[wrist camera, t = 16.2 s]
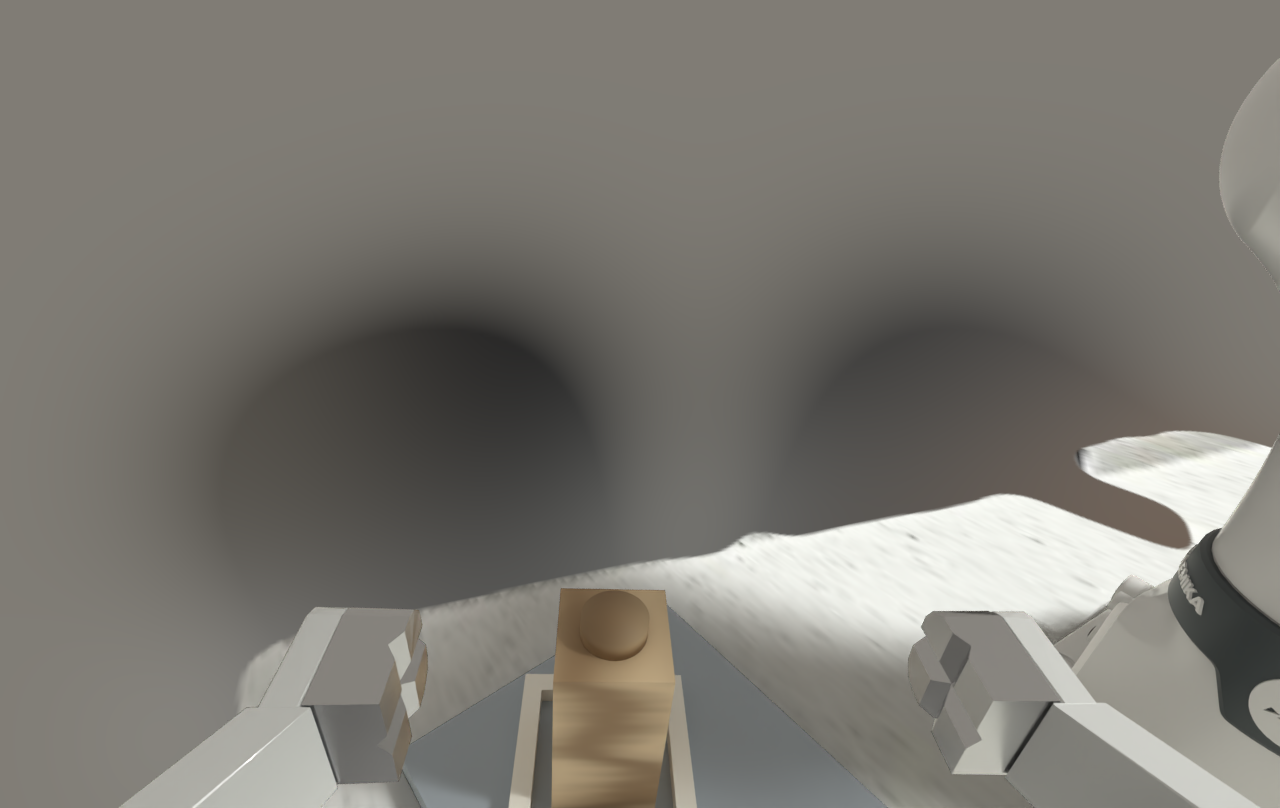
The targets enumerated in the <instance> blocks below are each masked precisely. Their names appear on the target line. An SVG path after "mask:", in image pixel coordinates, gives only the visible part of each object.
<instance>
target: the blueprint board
mask: <svg viewBox="0 0 1280 808" xmlns="http://www.w3.org/2000/svg"><path fill="white" fill-rule="evenodd" d="M667 612H668V621H669V630H670V639H671V647H672V656H673V665H674V674H675V675H681V681H682V689H683V697H684V705H685V713H686V722H687V730H688V738H689V746H690V755H691V763H692V771H693V779H694V787H695V796H696V804H697V808H888V807H887V806H885V805H884V804H883V803H882V802H881V801H880V800H879V799H878V798H877V797H876V796H875V795H873V794H872V793H871V792H870V791H869V790H868V789H867V788H866V787H865V786H864V785H863V784H861V783H860V782H859V781H858V780H857V779H856V778H855V777H854V776H853V775H852V774H851V773H850V772H848V771H847V770H846V769H845V768H844V767H843V766H842V765H841V764H840V763H839V762H838V761H836V760H835V759H834V758H833V757H832V756H831V755H830V754H829V753H828V752H827V751H826V750H825V749H823V748H822V747H821V746H820V745H819V744H818V743H817V742H816V741H815V740H814V739H813V738H811V737H810V736H809V735H808V734H807V733H806V732H805V731H804V730H803V729H802V728H801V727H799V726H798V725H797V724H796V723H795V722H794V721H793V720H792V719H791V718H790V717H789V716H788V715H786V714H785V713H784V712H783V711H782V710H781V709H780V708H779V707H778V706H777V705H776V704H774V703H773V702H772V701H771V700H770V699H769V698H768V697H767V696H766V695H765V694H764V693H763V692H761V691H760V690H759V689H758V688H757V687H756V686H755V685H754V684H753V683H752V682H751V681H749V680H748V679H747V678H746V677H745V676H744V675H743V674H742V673H741V672H740V671H739V670H737V669H736V668H735V667H734V666H733V665H732V664H731V663H730V662H729V661H728V660H727V659H726V658H724V657H723V656H722V655H721V654H720V653H719V652H718V651H717V650H716V649H715V648H714V647H712V646H711V645H710V644H709V643H708V642H707V641H706V640H705V639H704V638H703V637H702V636H701V635H699V634H698V633H697V632H696V631H695V630H694V629H693V628H692V627H691V626H690V625H689V624H687V623H686V622H685V621H684V620H683V619H682V618H681V617H680V616H679V615H678V614H677V613H675V612H674V611H673V610H672V609H671V608H670V607H669V606H668V605H667ZM554 665H555V655H554V656H553V657H551V658H550V659H548V660H546V661H545V662H543V663H541V664H540V665H538V666H537V667H535V668H533V669H532V670H530V671H528V672H527V673H525V674H524V675H522V676H520V677H519V678H517V679H515V680H514V681H512V682H511V683H509V684H507V685H506V686H504V687H502V688H501V689H499V690H498V691H496V692H494V693H493V694H491V695H489V696H488V697H486V698H485V699H483V700H481V701H480V702H478V703H476V704H475V705H473V706H472V707H470V708H468V709H467V710H465V711H463V712H462V713H460V714H459V715H457V716H455V717H454V718H452V719H450V720H449V721H447V722H446V723H444V724H442V725H441V726H439V727H437V728H436V729H434V730H433V731H431V732H429V733H428V734H426V735H424V736H423V737H421V738H420V739H418V740H416V741H415V742H413V743H411V744H410V745H409V747H408V751H407V754H406V758H405V761H404V765H403V768H402V770H403V772H404V774H405V776H406V778H407V780H408V782H409V784H410V786H411V788H412V790H413V792H414V794H415V796H416V798H417V800H418V802H419V804H420V806H421V808H508V807H509V799H510V791H511V783H512V776H513V768H514V760H515V752H516V745H517V737H518V729H519V721H520V714H521V706H522V698H523V690H524V683H525V675H526V674H554ZM552 728H553V701H542V702H541V712H540V722H539V733H538V743H537V753H536V763H535V773H534V783H533V793H532V803H531V808H551V802H552ZM655 808H673V800H672V788H671V777H670V766H669V755H668V744H667V737H666V743H665V749H664V755H663V761H662V767H661V773H660V779H659V785H658V791H657V797H656V803H655Z"/></svg>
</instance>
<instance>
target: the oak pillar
mask: <svg viewBox="0 0 1280 808" xmlns="http://www.w3.org/2000/svg"><path fill="white" fill-rule="evenodd" d="M674 688H675V674H674V665H673V656H672V647H671V639H670V630H669V621H668V612H667V603H666V594H665V590H619V589H565V588H561V592H560V604H559V617H558V629H557V641H556V653H555V665H554V677H553V728H552V802H551V808H655V803H656V797H657V791H658V785H659V779H660V773H661V767H662V761H663V755H664V749H665V743H666V737H667V731H668V725H669V719H670V713H671V707H672V700H673V694H674Z"/></svg>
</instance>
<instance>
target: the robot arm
mask: <svg viewBox="0 0 1280 808" xmlns="http://www.w3.org/2000/svg"><path fill="white" fill-rule="evenodd" d="M1219 185H1220V193H1221V199H1222V203H1223V206H1224V210H1225V213H1226V215H1227V217H1228V219H1229V221H1230V223H1231V225H1232V227H1233V229H1234V230H1235V232H1236V233H1237V235H1238V236H1239V238H1240V239H1241V240H1242V241H1243V242H1244V243H1245V245H1246V246H1247V247H1248V248H1249V249H1250V250H1251V251H1252V252H1253V253H1254V254H1255V255H1256V257H1257V258H1258V259H1259V261H1260V262H1261V263H1262V265H1263V266H1264V267H1265V268H1266V270H1267V272H1268V273H1269V274H1270V276H1271V277H1272V279H1273V281H1274V283H1275V285H1276V286H1277V288H1278V290H1279V292H1280V58H1279V59H1278V60H1277V61H1276V62H1275V63H1274V64H1273V65H1272V66H1271V67H1270V68H1269V69H1268V70H1267V72H1266V73H1265V74H1264V75H1263V76H1262V78H1261V79H1260V80H1259V81H1258V82H1257V83H1256V85H1255V86H1254V88H1253V89H1252V90H1251V92H1250V93H1249V95H1248V96H1247V98H1246V99H1245V101H1244V102H1243V104H1242V106H1241V107H1240V109H1239V111H1238V113H1237V114H1236V116H1235V118H1234V120H1233V123H1232V125H1231V127H1230V129H1229V132H1228V134H1227V137H1226V140H1225V144H1224V147H1223V150H1222V156H1221V161H1220V169H1219ZM421 628H422V621H421V617H420V612H419V610H415V609H383V608H351V607H350V608H342V607H315V608H314V609H313V610H312V611H311V612H310V613H309V614H308V615H307V616H306V617H305V619H304V621H303V623H302V625H301V627H300V629H299V631H298V632H297V634H296V636H295V638H294V640H293V642H292V644H291V646H290V647H289V649H288V651H287V653H286V655H285V657H284V659H283V661H282V662H281V664H280V666H279V668H278V670H277V672H276V674H275V676H274V678H273V679H272V681H271V683H270V685H269V687H268V689H267V691H266V693H265V695H264V696H263V698H262V700H261V702H260V704H259V706H258V707H247V708H245V709H244V710H243V711H242V712H240V713H239V714H238V715H236V716H235V717H234V718H233V719H231V720H230V721H229V722H228V723H226V724H225V725H224V726H222V727H221V728H220V729H219V730H217V731H216V732H215V733H213V734H212V735H211V736H209V737H208V738H207V739H206V740H204V741H203V742H202V743H201V744H199V745H198V746H197V747H195V748H194V749H193V750H192V751H190V752H189V753H188V754H187V755H185V756H184V757H183V758H181V759H180V760H179V761H178V762H176V763H175V764H174V765H172V766H171V767H170V768H168V769H167V770H166V771H165V772H164V773H162V774H161V775H160V776H158V777H157V778H156V779H154V780H153V781H152V782H151V783H149V784H148V785H147V786H146V787H144V788H143V789H141V790H140V791H139V792H138V793H136V794H135V795H134V796H133V797H131V798H130V799H129V800H127V801H126V802H125V803H124V804H122V805H121V806H120V807H118V808H321V807H322V806H323V805H324V803H325V802H326V801H327V800H328V799H329V798H330V797H331V795H332V794H333V793H334V792H335V791H336V790H337V789H338V786H337V784H354V783H378V782H399V779H400V775H401V772H402V768H403V765H404V761H405V758H406V754H407V751H408V747H409V744H410V740H411V737H412V735H411V730H410V725H409V720H408V719H409V718H410V717H411V716H412V715H413V714H414V713H415V712H416V711H417V710H418V709H419V708H420V705H421V701H422V698H423V694H424V690H425V684H426V676H427V669H428V668H427V649H426V644H425V643H423V642H422V641H421V640H420V639H419V638H418V637H419V634H420V631H421ZM921 628H922V630H923V631H924V633H925V635H926V636H925V637H924V638H923V639H921V640H920V641H918V642H917V643H916V644H914V645H913V647H912V650H911V652H910V655H909V658H908V676H909V680H910V684H911V688H912V691H913V693H914V695H915V698H916V700H917V702H918V704H919V705H920V706H921V707H922V708H923V709H924V710H925V711H927V712H928V713H929V714H930V715H931V716H932V717H934V723H933V727H932V734H933V736H934V738H935V740H936V742H937V744H938V746H939V749H940V751H941V753H942V755H943V757H944V759H945V761H946V763H947V765H948V767H949V769H950V772H951V774H978V775H1006V777H1005V779H1006V780H1007V781H1008V782H1009V783H1010V784H1011V785H1012V786H1013V787H1014V788H1015V789H1016V790H1017V791H1018V792H1019V793H1020V794H1021V795H1022V796H1023V797H1025V798H1026V799H1027V800H1028V801H1029V802H1030V803H1031V804H1032V805H1033V806H1034V807H1035V808H1280V434H1279V436H1278V438H1277V440H1276V442H1275V443H1274V445H1273V447H1272V449H1271V451H1270V453H1269V455H1268V457H1267V458H1266V460H1265V462H1264V463H1263V465H1262V467H1261V469H1260V470H1259V472H1258V474H1257V476H1256V477H1255V479H1254V481H1253V482H1252V484H1251V486H1250V487H1249V489H1248V490H1247V492H1246V493H1245V495H1244V497H1243V498H1242V500H1241V501H1240V503H1239V504H1238V506H1237V507H1236V509H1235V510H1234V512H1233V513H1232V515H1231V516H1230V518H1229V519H1228V520H1227V522H1226V523H1225V525H1224V526H1223V528H1220V529H1216V530H1213V531H1211V532H1210V533H1208V534H1206V535H1205V537H1204V538H1203V539H1202V540H1201V541H1200V542H1199V544H1198V545H1195V546H1194V547H1193V548H1192V549H1191V550H1190V551H1189V552H1188V553H1187V555H1186V556H1185V557H1184V559H1183V560H1182V561H1181V564H1180V565H1179V570H1178V571H1177V572H1176V574H1175V575H1174V577H1173V578H1171V579H1169V580H1167V581H1165V582H1163V583H1161V584H1159V585H1157V586H1155V587H1154V586H1152V585H1149V583H1147V582H1145V581H1144V580H1142V579H1140V578H1139V577H1137V576H1133V575H1130V576H1128V577H1127V578H1126V579H1125V580H1124V581H1123V582H1122V583H1121V585H1120V586H1119V587H1118V588H1117V590H1116V591H1115V593H1114V594H1113V596H1112V599H1111V601H1110V603H1109V604H1108V609H1107V610H1106V611H1104V612H1103V613H1101V614H1100V615H1098V616H1097V617H1095V618H1094V619H1092V620H1091V621H1089V622H1088V623H1086V624H1084V625H1083V626H1081V627H1080V628H1078V629H1077V630H1075V631H1074V632H1072V633H1071V634H1069V635H1068V636H1066V637H1065V638H1063V639H1062V640H1060V641H1059V642H1057V643H1056V644H1054V645H1053V644H1052V643H1051V642H1050V640H1049V639H1048V637H1047V636H1046V635H1045V633H1044V632H1043V631H1042V629H1041V628H1040V627H1039V625H1038V624H1037V623H1036V621H1035V620H1034V619H1033V618H1032V617H1031V616H1029V615H1028V614H1027V613H1025V612H989V611H933V612H931V613H930V614H928V615H927V616H926V617H925V619H924V622H923V624H922V626H921Z"/></svg>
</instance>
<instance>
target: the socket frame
mask: <svg viewBox="0 0 1280 808" xmlns="http://www.w3.org/2000/svg"><path fill="white" fill-rule="evenodd" d="M553 677H554V674H526V675H525V683H524V690H523V698H522V706H521V714H520V721H519V729H518V737H517V745H516V752H515V760H514V768H513V776H512V783H511V791H510V799H509V807H508V808H531V803H532V793H533V783H534V773H535V763H536V753H537V743H538V733H539V722H540V712H541V702H542V701H553ZM667 744H668V755H669V766H670V777H671V788H672V800H673V808H697V804H696V796H695V787H694V779H693V771H692V763H691V755H690V746H689V738H688V730H687V722H686V713H685V705H684V697H683V689H682V681H681V675H675V688H674V694H673V700H672V707H671V713H670V719H669V725H668V731H667Z"/></svg>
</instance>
